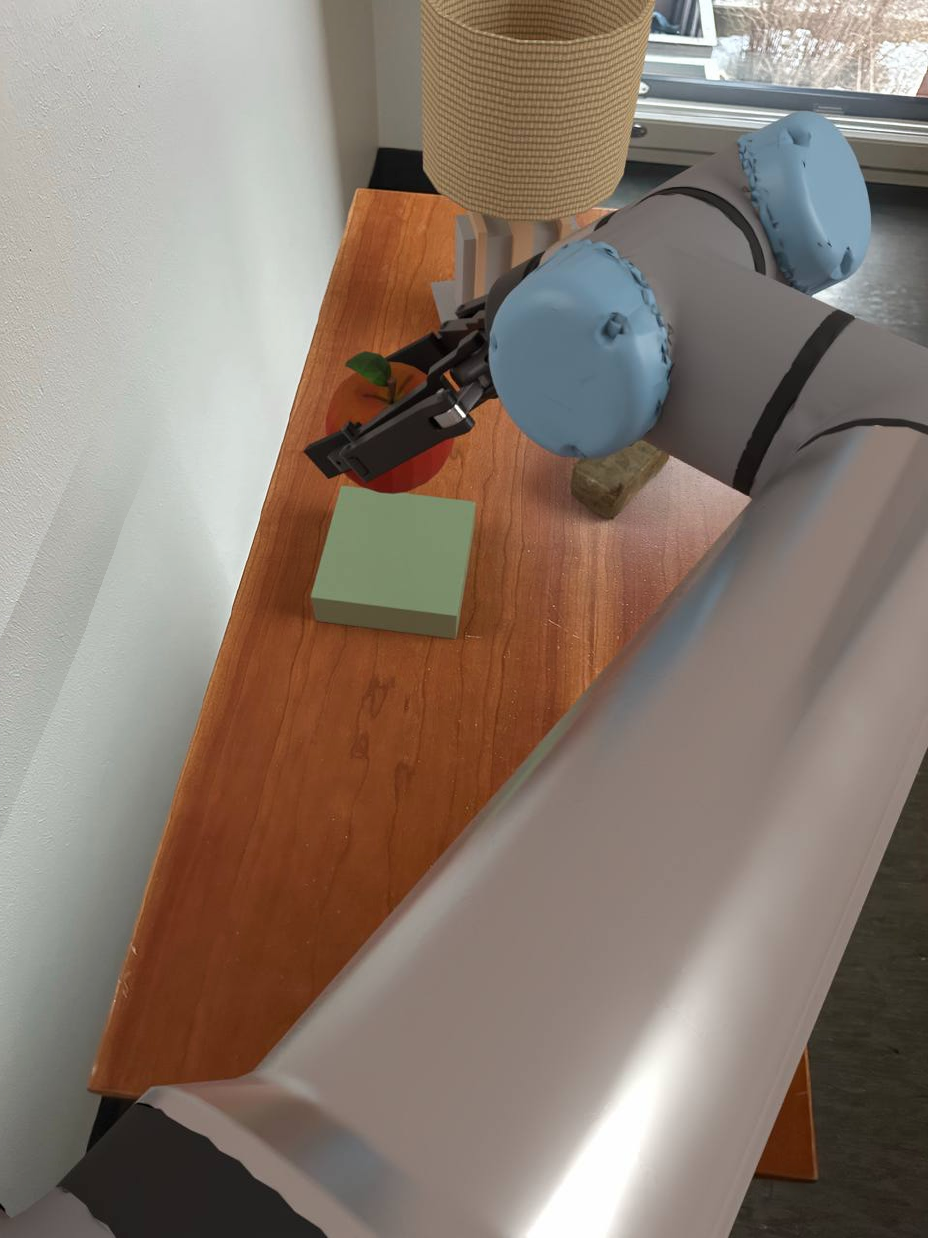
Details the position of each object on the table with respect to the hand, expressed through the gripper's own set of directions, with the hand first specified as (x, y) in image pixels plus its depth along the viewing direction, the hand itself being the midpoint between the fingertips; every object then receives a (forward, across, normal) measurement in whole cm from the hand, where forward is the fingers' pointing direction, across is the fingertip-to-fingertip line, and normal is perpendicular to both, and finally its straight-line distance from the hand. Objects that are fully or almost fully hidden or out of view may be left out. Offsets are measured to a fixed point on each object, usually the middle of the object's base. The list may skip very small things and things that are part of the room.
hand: (355, 417), depth 67 cm
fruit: (+1, 0, -5) cm, 5 cm away
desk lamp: (+18, +38, -12) cm, 43 cm away
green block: (+13, +2, -16) cm, 21 cm away
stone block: (+4, +23, -26) cm, 35 cm away
